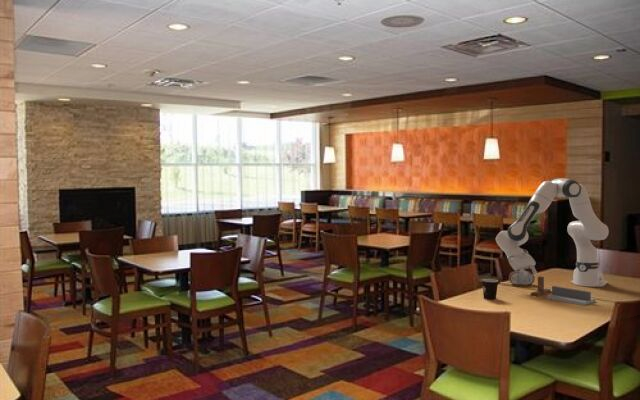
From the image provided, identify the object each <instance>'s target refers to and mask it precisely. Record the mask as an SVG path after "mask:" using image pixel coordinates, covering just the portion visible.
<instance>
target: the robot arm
mask: <svg viewBox="0 0 640 400" xmlns="http://www.w3.org/2000/svg"><path fill="white" fill-rule="evenodd" d="M556 196H557V197H561V198H563V197H564V198H568V200H569V206H570V208H571V211H572V215H573V217H574V218H576V219H577V220H573V221H571V222H569V223H568V225H567V229H566V231H567V233H568V235H569V236H570V237H571V239H573V242H574V244H575V248H576V260H575V261H576V262H575V269H574V270H573V275H572V276H573V278H572V280H570V283H573V284H574V285H576V286H580V287H595V288H596V287H599V288H601V287H603V288H604V286H606V285H607V284H608V281H607V280H604V274H603V272H602V271H601V269H600V268H599V266H600V261H598V250H597V249H598V248H596V247H595V246H594V245H593V243H592V242H591V240H592V241H602V240H606V239H607V238H608V236H609V233H610V231H609V230H610V229H609V227H608V225H607V224H606V223H604V222H602V221H601V220H600V219H599V217H597V214H596V213H595V212H594V209H593V206H592V204H591V203H592V202H591V200H590V197H589V193H588V191H587V189H586V187H585V185H584V184H582V183H579V182H578V181H576V180H575V179H571V178H570V179H569V178H565V177H564V178H563V177H554V178H551V179H549V180H545V181H543V182H542V183H541V184H540V185H539V186H538V187H537V188H536V190H535V191H534V193H533V195H532V196H531V198H530V199H529V201H528V204H527V205H526V207H525V208H524V210H523V211H522V213H521V214H520V216H519V217H518V218H517V220H516V221H515V222H513V223H512V224H511V225H509V227H508V228H507V230H501V231H500V232H498V233H497V235H496V237H495V242H496V244H497V246H498V247H499V248H500V249H501V250H502V251H503V252H504V253H505V256H506V257H507V260H508V263H509V265H510V267H511V268H512V269H513V270H514V271H520V272H522V273H524V275H525V276H526V275H528V272H529V271H528V272H527V270H526V269H530V270H531V273H532V274H536V273H538V271H537V270H536V267H535V266H536V264H537V263H536V261H535V259H534V258H533V257H532V255H531V254H529V252H528V250H527V249H524V248H521V247H520V246H522V245H524V244H525V243H526V242H528V241H529V236H530V235H529V233H528V231H527V227H528V226H529V224H530V223H531V222H532V220H533V218H534V217H535V216H536V215H537V214H539V213H540V214H541V213H544V212H545V211H546V210H547V209H548V208H549V207H550V205H551V204H552V202H553V201H554V199H555V197H556Z"/></svg>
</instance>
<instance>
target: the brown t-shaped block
mask: <svg viewBox="0 0 640 400" xmlns="http://www.w3.org/2000/svg"><path fill="white" fill-rule="evenodd" d="M548 292H549V293H552V288H545V277H544V276H537V290H536V291H533V292H530V297H533V296H536V297H538V295H539V296H542V295H545V294H544V293H546V294H549V293H548ZM541 294H542V295H541Z"/></svg>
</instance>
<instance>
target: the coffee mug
mask: <svg viewBox="0 0 640 400" xmlns="http://www.w3.org/2000/svg"><path fill="white" fill-rule="evenodd" d="M498 283H499V280H498V279H493V278H483V279H482V280H481V286H482V294H483V299H484V300H488V301H489V300H490V301H494V300H495V301H496V300H497V295H498V294H497V293H498V287H499V286H498Z"/></svg>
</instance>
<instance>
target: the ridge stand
mask: <svg viewBox="0 0 640 400" xmlns="http://www.w3.org/2000/svg"><path fill="white" fill-rule="evenodd" d="M547 298H548V300H551V299H552V300H551V301H558V302H564V303H569V304H574V305H580V306H587V305H590V304H592V303H594V302H596V298H593V297H592V292H591V291H586V290H581V289H574V288H568V287H562V286H555V285H552V286H551V294H549V295H547V296H546V299H547Z"/></svg>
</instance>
